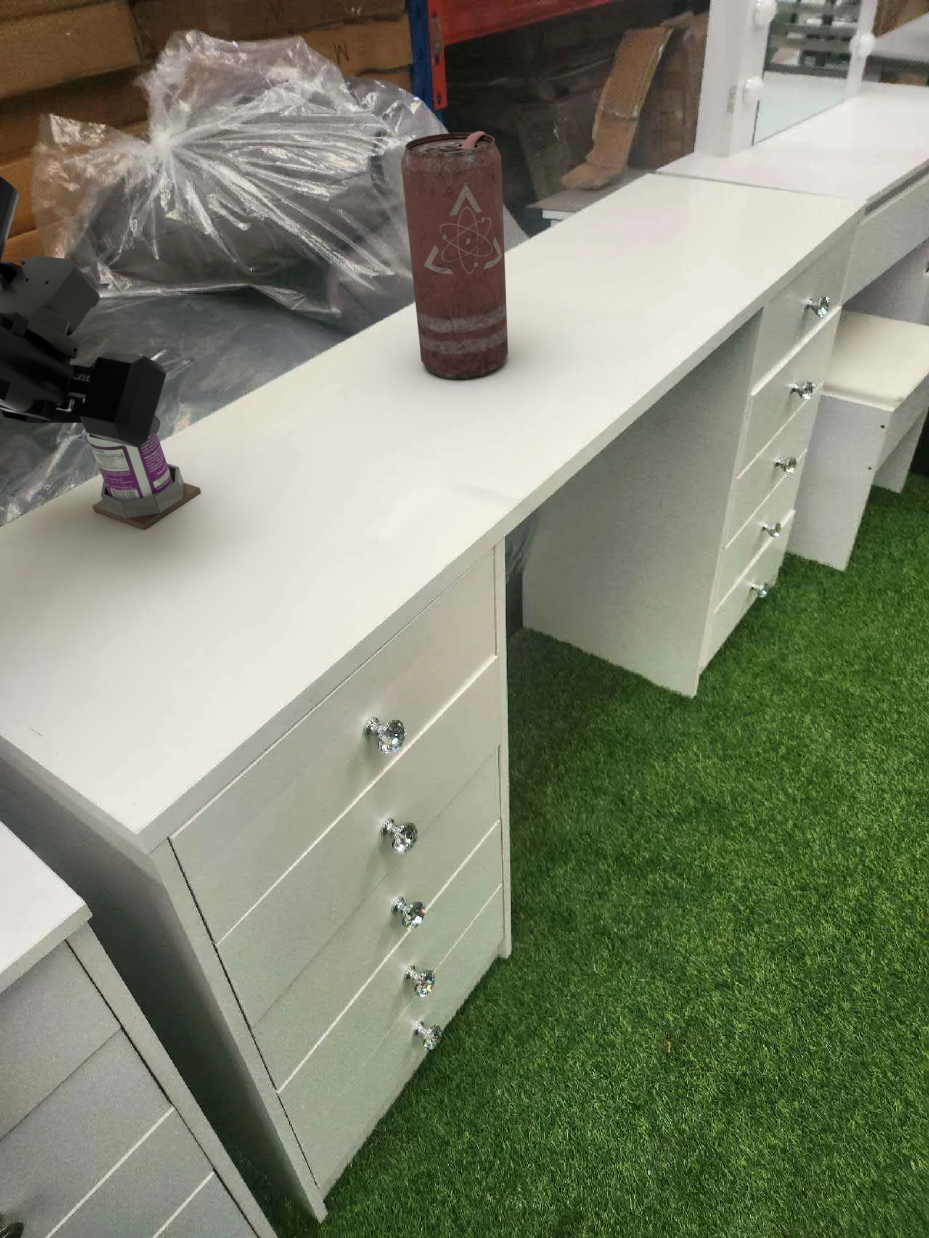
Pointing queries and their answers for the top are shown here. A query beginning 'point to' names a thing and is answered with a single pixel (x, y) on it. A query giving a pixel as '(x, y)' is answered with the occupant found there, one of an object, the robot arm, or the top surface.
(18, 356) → the robot arm
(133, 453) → the pill bottle
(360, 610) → the top surface
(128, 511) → the octagonal bottle holder
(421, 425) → the top surface
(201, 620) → the top surface
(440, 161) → the can
